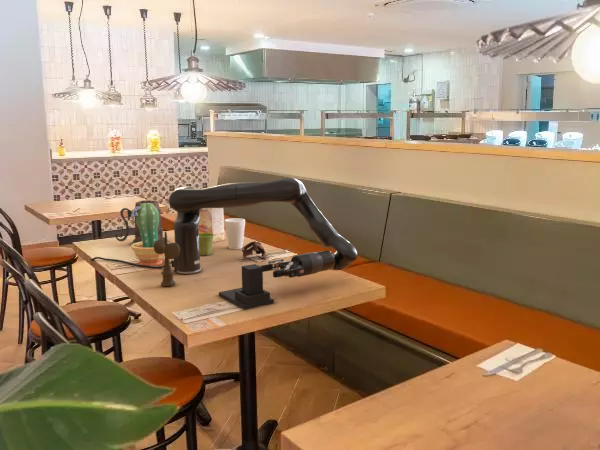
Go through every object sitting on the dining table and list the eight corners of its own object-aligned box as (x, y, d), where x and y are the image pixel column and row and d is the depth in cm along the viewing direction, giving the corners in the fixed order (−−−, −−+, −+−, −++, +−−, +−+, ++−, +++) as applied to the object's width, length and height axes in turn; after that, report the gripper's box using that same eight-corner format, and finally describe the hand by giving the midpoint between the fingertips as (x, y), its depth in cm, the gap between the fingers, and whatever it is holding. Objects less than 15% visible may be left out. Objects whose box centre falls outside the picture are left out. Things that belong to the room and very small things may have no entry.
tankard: (162, 237, 285) (160, 198, 281) (171, 244, 271) (169, 202, 267) (113, 243, 274) (110, 201, 270) (119, 250, 259) (116, 206, 256)
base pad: (218, 295, 196) (218, 285, 195) (247, 289, 202) (247, 279, 202) (244, 309, 182) (243, 298, 181) (274, 302, 188) (273, 292, 188)
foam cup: (226, 245, 270) (225, 218, 267) (246, 245, 270) (245, 218, 268) (224, 250, 260) (223, 222, 258) (244, 249, 261) (244, 221, 259)
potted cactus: (144, 257, 247) (140, 199, 242) (177, 259, 244) (174, 201, 239) (124, 266, 232) (120, 205, 227) (159, 268, 229) (155, 207, 224)
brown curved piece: (266, 262, 242) (256, 246, 239) (247, 270, 244) (237, 255, 241) (271, 248, 252) (261, 233, 250) (253, 256, 255) (243, 242, 252)
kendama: (166, 290, 201) (164, 234, 198) (154, 284, 208) (151, 230, 204) (182, 286, 205) (179, 232, 202) (169, 281, 212) (166, 228, 209)
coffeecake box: (196, 237, 287) (194, 198, 284) (209, 235, 292) (207, 197, 288) (212, 242, 277) (210, 202, 273) (225, 240, 281) (223, 200, 278)
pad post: (242, 298, 189) (241, 266, 187) (255, 295, 192) (254, 263, 190) (249, 302, 185) (249, 269, 183) (263, 299, 188) (262, 267, 186)
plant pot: (188, 255, 251) (187, 236, 249) (201, 250, 259) (200, 232, 257) (206, 257, 247) (206, 237, 245) (219, 252, 256) (218, 233, 254)
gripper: (295, 249, 204) (255, 256, 195) (319, 257, 193) (278, 265, 184) (296, 270, 206) (256, 277, 196) (319, 279, 195) (278, 287, 185)
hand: (266, 271), depth 190 cm, fingers open, 8 cm apart
